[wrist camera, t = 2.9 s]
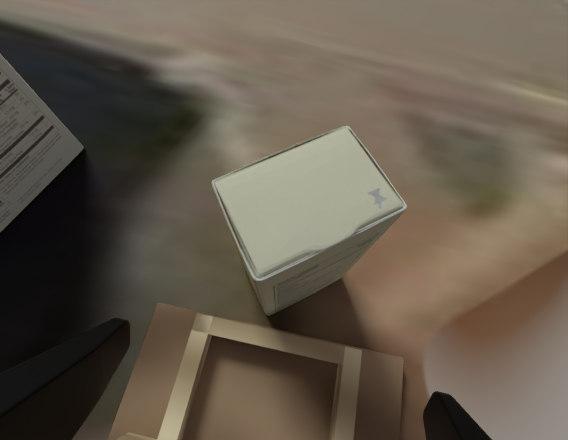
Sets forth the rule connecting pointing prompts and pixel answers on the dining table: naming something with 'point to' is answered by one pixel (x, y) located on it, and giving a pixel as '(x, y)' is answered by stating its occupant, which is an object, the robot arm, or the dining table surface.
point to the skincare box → (306, 214)
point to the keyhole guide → (254, 384)
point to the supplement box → (28, 144)
